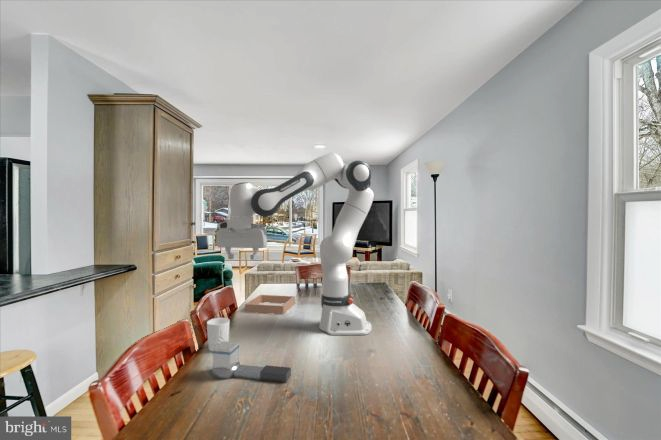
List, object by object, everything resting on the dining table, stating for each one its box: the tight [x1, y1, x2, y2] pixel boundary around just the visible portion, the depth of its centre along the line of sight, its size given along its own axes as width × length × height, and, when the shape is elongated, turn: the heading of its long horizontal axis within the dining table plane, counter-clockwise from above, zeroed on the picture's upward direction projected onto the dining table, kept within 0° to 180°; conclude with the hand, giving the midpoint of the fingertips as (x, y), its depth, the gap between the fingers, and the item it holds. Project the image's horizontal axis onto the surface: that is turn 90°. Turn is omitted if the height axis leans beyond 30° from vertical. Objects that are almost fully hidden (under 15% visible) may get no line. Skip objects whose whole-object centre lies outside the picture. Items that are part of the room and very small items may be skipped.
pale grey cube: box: [211, 341, 240, 370], centre depth 98 cm, size 6×6×6 cm
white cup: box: [206, 317, 231, 353], centre depth 116 cm, size 8×8×10 cm
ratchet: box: [211, 361, 292, 384], centre depth 96 cm, size 24×8×6 cm, turn 79°
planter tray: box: [244, 294, 296, 315], centre depth 166 cm, size 20×19×4 cm
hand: (241, 259), depth 125 cm, fingers open, 8 cm apart
